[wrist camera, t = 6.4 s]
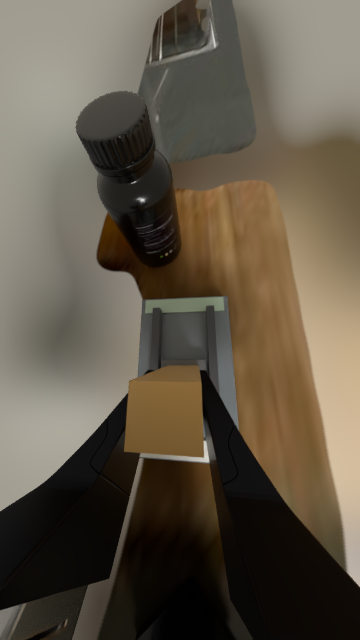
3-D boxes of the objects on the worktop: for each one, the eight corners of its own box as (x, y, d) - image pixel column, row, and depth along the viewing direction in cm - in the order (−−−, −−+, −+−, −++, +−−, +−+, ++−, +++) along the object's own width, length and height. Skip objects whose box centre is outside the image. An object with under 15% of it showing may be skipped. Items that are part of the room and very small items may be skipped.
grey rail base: (237, 454, 14) (246, 477, 11) (138, 447, 15) (126, 466, 12) (224, 300, 18) (229, 291, 15) (146, 303, 19) (138, 295, 16)
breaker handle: (206, 397, 14) (225, 479, 5) (162, 396, 14) (104, 467, 5) (205, 359, 15) (218, 367, 6) (163, 359, 15) (114, 367, 6)
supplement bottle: (128, 244, 21) (47, 113, 10) (167, 221, 22) (132, 66, 10) (149, 278, 20) (80, 168, 8) (191, 252, 20) (183, 109, 8)
